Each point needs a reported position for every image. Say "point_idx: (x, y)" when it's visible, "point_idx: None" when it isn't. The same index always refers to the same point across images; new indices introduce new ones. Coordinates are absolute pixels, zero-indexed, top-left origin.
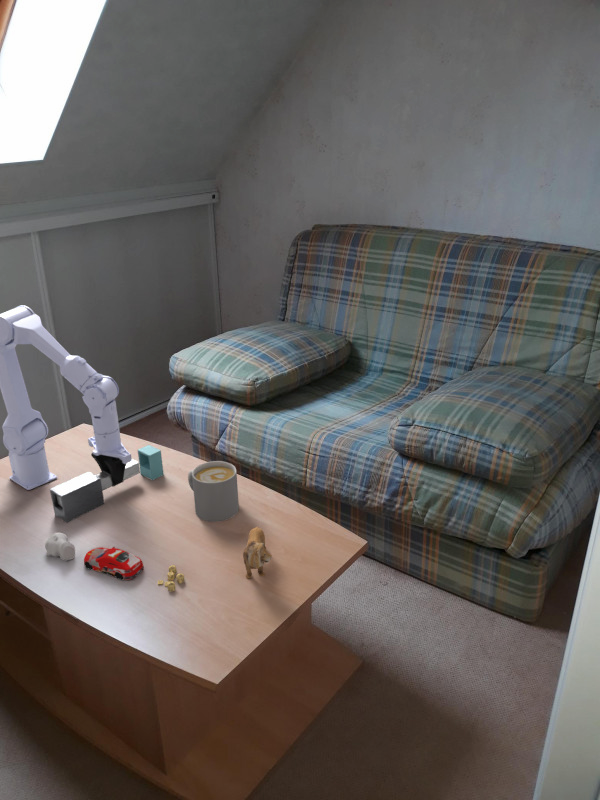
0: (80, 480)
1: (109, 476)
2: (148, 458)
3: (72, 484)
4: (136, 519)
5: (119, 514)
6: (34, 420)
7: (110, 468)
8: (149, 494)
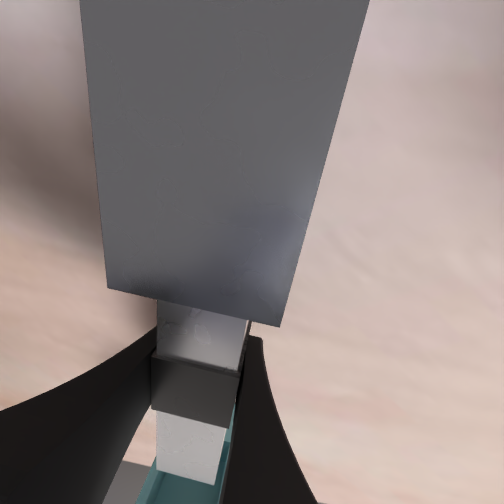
0: (216, 174)
1: (159, 342)
2: (220, 480)
3: (220, 42)
4: (15, 197)
5: (87, 191)
6: None
7: (70, 400)
8: (124, 331)
